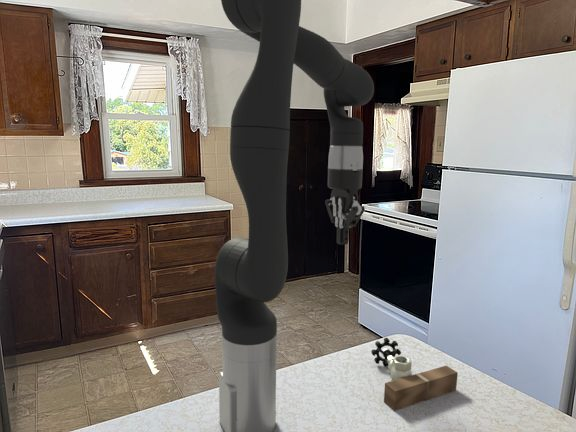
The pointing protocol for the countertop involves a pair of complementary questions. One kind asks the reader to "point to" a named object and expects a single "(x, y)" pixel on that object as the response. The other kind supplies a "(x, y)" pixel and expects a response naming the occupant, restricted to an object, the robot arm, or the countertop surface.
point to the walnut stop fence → (420, 387)
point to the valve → (393, 360)
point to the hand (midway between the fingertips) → (342, 243)
